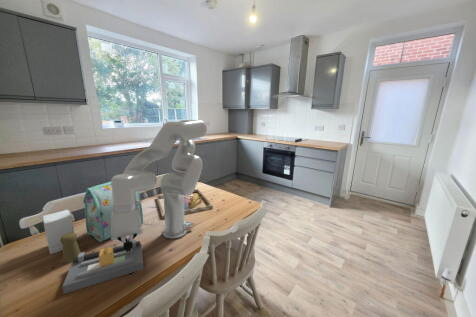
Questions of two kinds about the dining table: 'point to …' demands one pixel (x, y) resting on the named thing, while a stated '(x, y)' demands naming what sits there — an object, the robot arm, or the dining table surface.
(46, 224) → the supplement box
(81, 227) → the dining table surface
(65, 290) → the grey slider switch base
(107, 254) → the breaker toggle
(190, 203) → the spice collection
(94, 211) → the lunch bag
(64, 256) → the cork
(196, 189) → the tray
